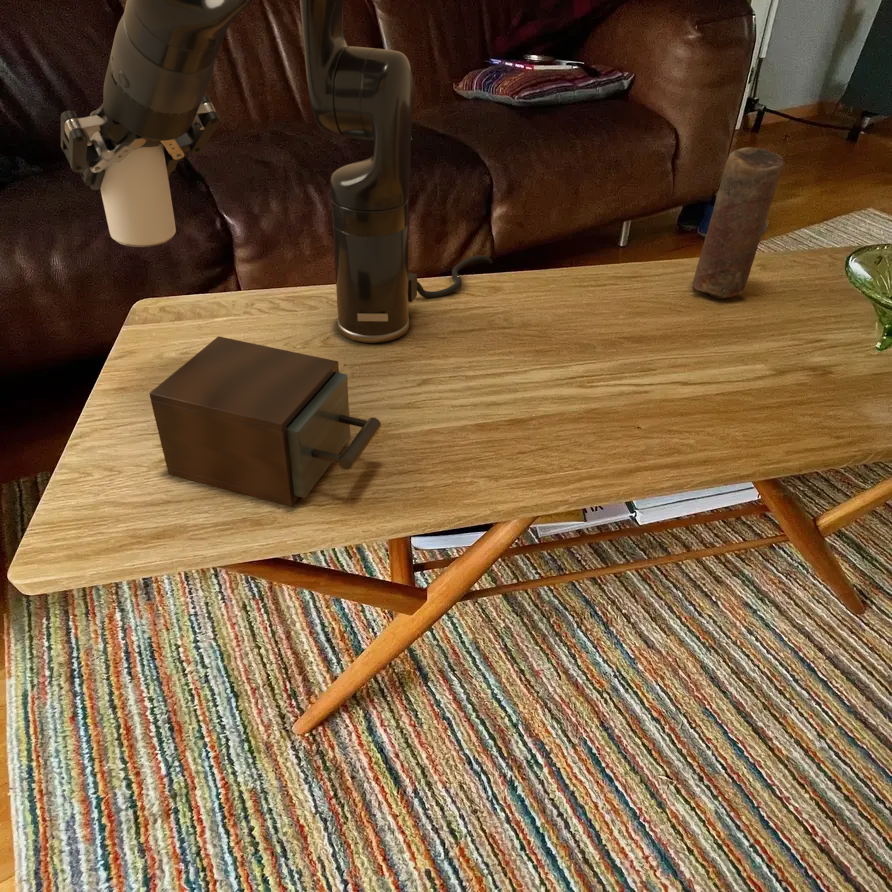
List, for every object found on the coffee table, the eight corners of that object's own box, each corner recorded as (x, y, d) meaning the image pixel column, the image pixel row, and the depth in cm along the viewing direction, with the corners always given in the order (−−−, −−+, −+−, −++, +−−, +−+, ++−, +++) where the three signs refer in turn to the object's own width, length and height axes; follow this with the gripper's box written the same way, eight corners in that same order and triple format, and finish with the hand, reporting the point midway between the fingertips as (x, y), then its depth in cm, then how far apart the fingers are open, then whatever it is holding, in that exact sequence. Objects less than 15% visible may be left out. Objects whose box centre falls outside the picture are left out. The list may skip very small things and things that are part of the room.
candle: (752, 292, 113) (793, 154, 101) (731, 308, 109) (772, 166, 97) (704, 277, 117) (738, 142, 105) (682, 292, 113) (716, 153, 100)
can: (141, 220, 82) (120, 102, 75) (190, 232, 80) (172, 112, 73) (96, 239, 78) (69, 115, 70) (147, 253, 76) (124, 126, 68)
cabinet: (343, 438, 81) (338, 360, 75) (291, 506, 72) (281, 424, 66) (230, 412, 84) (218, 335, 78) (168, 474, 75) (148, 393, 69)
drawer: (388, 446, 79) (387, 382, 74) (345, 509, 71) (341, 442, 66) (245, 412, 83) (235, 350, 78) (190, 468, 75) (175, 403, 70)
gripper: (220, 24, 67) (177, 132, 80) (49, 33, 58) (35, 151, 72) (256, 102, 67) (208, 196, 80) (92, 122, 59) (69, 223, 72)
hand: (126, 174), depth 76 cm, fingers closed on can, 6 cm apart
